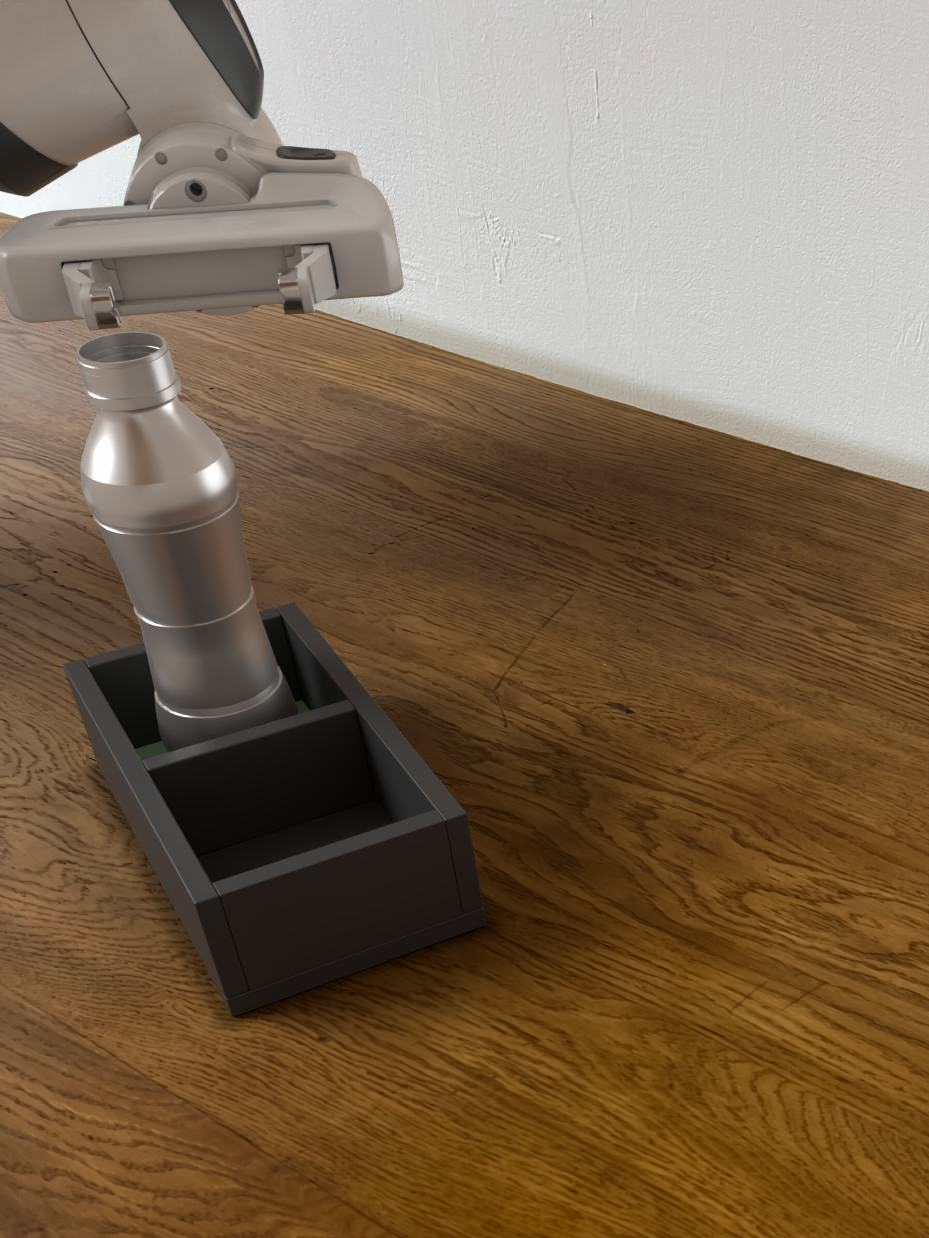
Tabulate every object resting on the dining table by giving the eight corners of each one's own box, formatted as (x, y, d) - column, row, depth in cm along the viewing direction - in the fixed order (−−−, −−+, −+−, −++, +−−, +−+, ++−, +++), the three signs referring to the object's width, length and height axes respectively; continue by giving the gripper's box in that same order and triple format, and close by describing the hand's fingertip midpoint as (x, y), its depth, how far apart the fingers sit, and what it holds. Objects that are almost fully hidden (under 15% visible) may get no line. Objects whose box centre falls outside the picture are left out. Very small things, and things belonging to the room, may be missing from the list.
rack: (232, 1017, 66) (194, 904, 62) (100, 770, 79) (61, 663, 75) (487, 925, 70) (467, 813, 66) (319, 705, 84) (294, 601, 80)
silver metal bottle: (299, 720, 80) (194, 309, 67) (320, 789, 76) (212, 363, 62) (168, 746, 79) (33, 330, 65) (182, 819, 74) (40, 388, 60)
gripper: (-6, 173, 84) (-48, 252, 74) (383, 148, 87) (393, 221, 77) (33, 298, 88) (-1, 389, 78) (403, 270, 92) (415, 353, 82)
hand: (198, 305), depth 78 cm, fingers open, 8 cm apart
